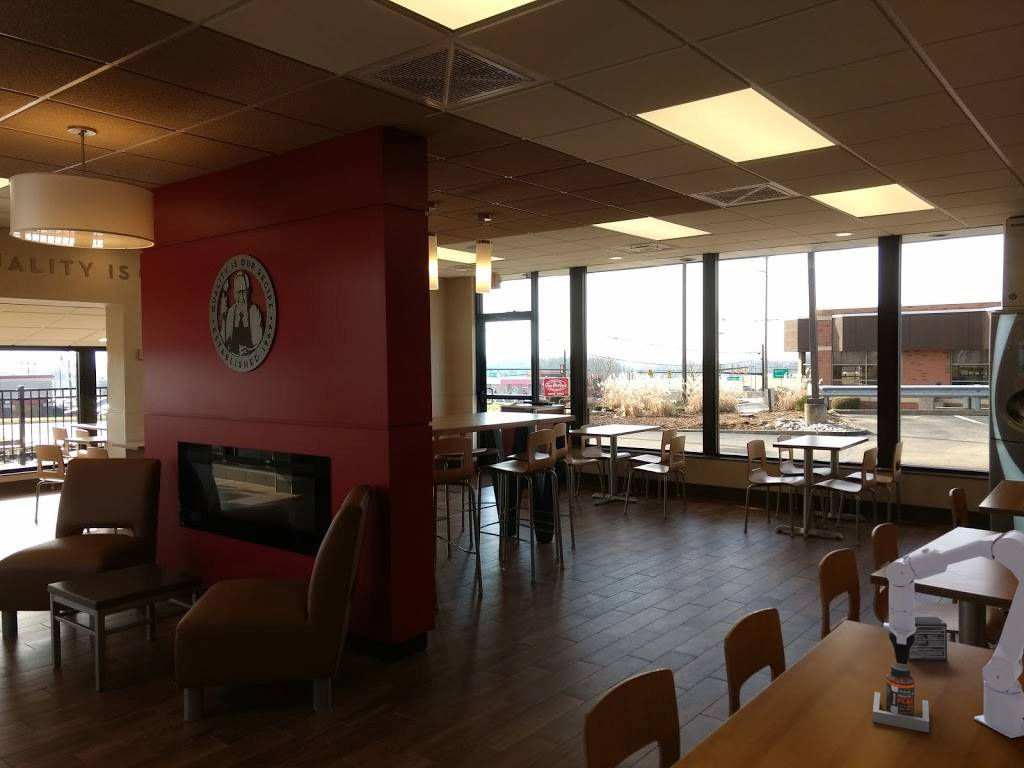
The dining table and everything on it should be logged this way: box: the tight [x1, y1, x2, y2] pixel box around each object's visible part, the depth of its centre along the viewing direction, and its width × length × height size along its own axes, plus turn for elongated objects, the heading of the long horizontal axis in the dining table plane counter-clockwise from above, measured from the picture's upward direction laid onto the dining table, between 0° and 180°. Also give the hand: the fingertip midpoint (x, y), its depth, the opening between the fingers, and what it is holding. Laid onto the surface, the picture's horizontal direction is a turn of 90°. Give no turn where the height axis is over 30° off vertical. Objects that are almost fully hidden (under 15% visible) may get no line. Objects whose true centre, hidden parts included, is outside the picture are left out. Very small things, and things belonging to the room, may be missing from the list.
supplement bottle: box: [885, 663, 916, 717], centre depth 180 cm, size 6×6×11 cm
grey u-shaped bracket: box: [872, 691, 930, 733], centre depth 178 cm, size 11×11×2 cm
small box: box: [907, 616, 948, 662], centre depth 212 cm, size 11×6×10 cm, turn 84°
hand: (901, 663), depth 188 cm, fingers closed
